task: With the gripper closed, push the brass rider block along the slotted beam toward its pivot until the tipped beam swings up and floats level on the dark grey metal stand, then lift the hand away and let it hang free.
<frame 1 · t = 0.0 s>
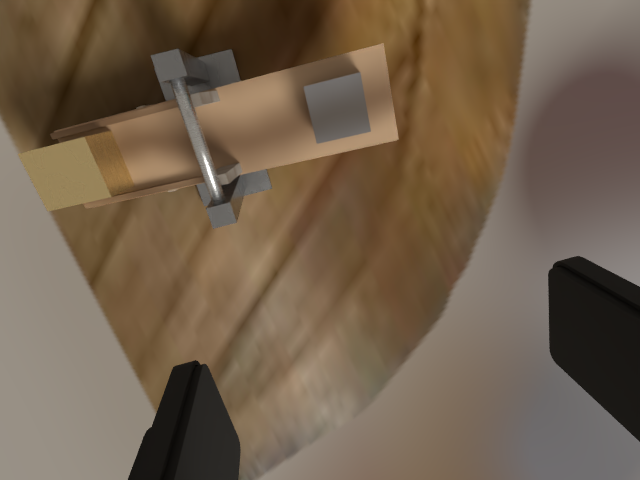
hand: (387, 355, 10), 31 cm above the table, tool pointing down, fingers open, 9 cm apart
stand: (218, 131, 37), on the table
rider: (93, 166, 34), point 4 cm above the table, tilted 12°, touching beam
beam: (214, 137, 30), point 7 cm above the table, hinge at 12.4°, touching rider
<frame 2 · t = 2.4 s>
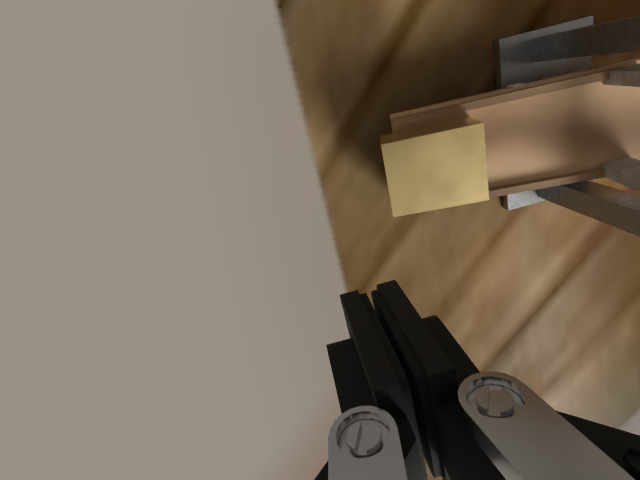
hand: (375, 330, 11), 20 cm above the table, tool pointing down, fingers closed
stand: (540, 119, 31), on the table
rider: (427, 160, 27), point 3 cm above the table, tilted 13°, touching beam
beam: (630, 124, 24), point 7 cm above the table, hinge at 13.2°, touching rider
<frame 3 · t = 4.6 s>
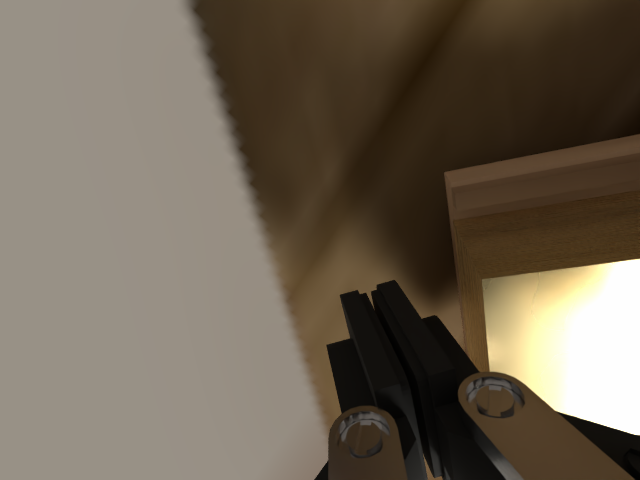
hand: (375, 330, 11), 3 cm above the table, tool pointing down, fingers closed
rider: (564, 277, 12), point 3 cm above the table, tilted 15°, touching beam, gripper
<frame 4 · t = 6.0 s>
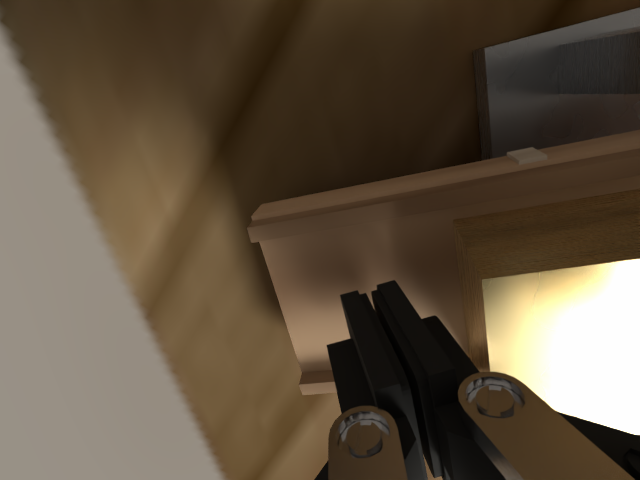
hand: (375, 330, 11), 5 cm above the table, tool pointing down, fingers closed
stand: (567, 198, 16), on the table
rider: (565, 276, 12), point 5 cm above the table, tilted 15°, touching beam, gripper
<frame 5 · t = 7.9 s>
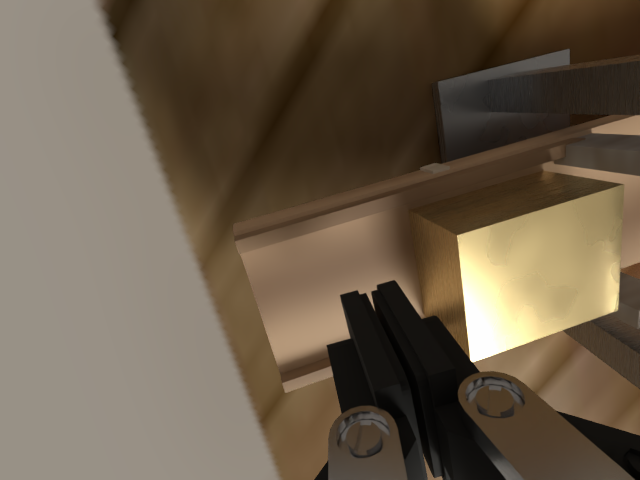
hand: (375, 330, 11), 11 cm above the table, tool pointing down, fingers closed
stand: (503, 185, 22), on the table
rider: (481, 244, 16), point 6 cm above the table, tilted 5°, touching beam
beam: (600, 222, 16), point 7 cm above the table, hinge at -5.5°, touching rider
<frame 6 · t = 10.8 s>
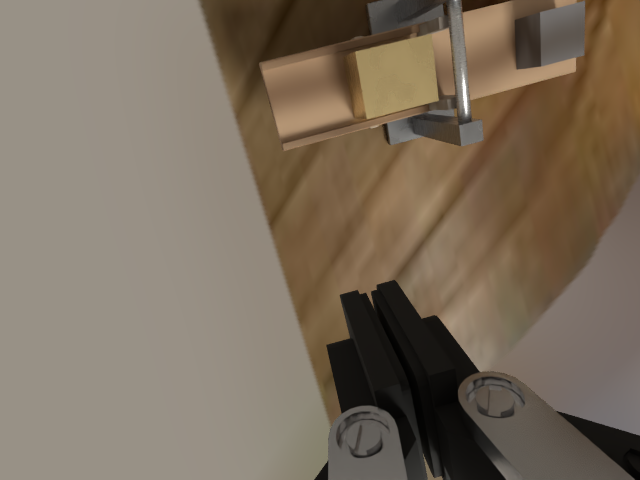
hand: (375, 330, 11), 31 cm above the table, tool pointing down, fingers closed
stand: (411, 70, 39), on the table
rider: (382, 80, 32), point 6 cm above the table, touching beam
beam: (438, 65, 32), point 7 cm above the table, hinge at -4.9°, touching rider
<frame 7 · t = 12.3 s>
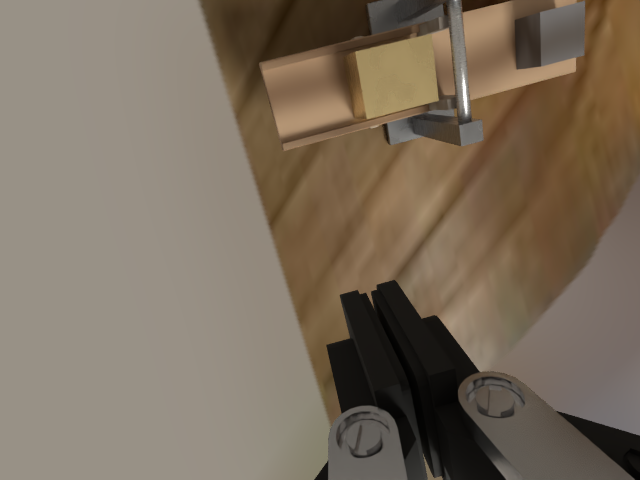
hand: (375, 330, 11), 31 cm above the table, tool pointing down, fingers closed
stand: (411, 70, 39), on the table
rider: (382, 80, 32), point 6 cm above the table, touching beam
beam: (438, 65, 32), point 7 cm above the table, hinge at -4.9°, touching rider
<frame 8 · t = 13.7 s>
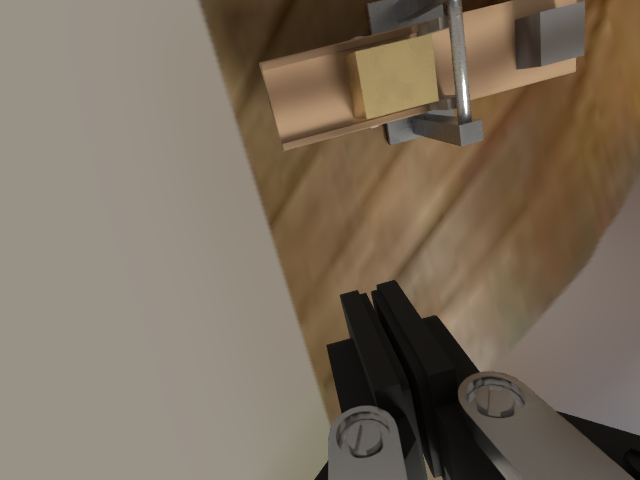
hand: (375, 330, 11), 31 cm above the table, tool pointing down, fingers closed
stand: (411, 70, 39), on the table
rider: (382, 80, 32), point 6 cm above the table, touching beam
beam: (438, 65, 32), point 7 cm above the table, hinge at -4.9°, touching rider
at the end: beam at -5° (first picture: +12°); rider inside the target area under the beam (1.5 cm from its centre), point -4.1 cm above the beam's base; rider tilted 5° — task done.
